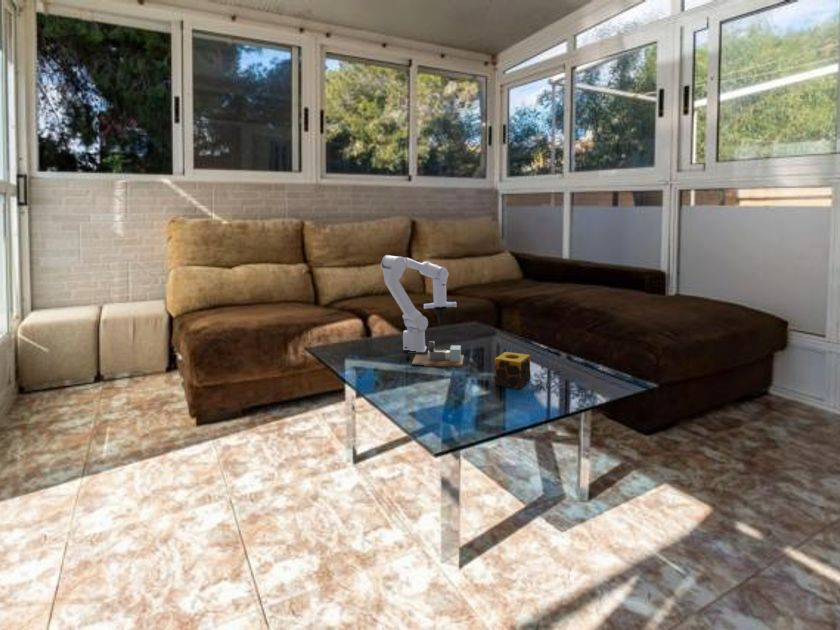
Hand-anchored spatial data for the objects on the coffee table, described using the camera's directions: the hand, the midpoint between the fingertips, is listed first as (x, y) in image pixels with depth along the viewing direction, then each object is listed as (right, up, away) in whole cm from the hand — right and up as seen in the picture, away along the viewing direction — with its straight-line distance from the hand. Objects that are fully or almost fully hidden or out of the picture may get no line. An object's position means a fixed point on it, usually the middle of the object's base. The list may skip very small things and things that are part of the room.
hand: (440, 323), depth 250 cm
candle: (+24, -21, -50) cm, 59 cm away
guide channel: (-2, -15, -23) cm, 28 cm away
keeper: (+5, -15, -24) cm, 29 cm away
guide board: (-2, -15, -23) cm, 28 cm away
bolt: (0, -14, -24) cm, 27 cm away
